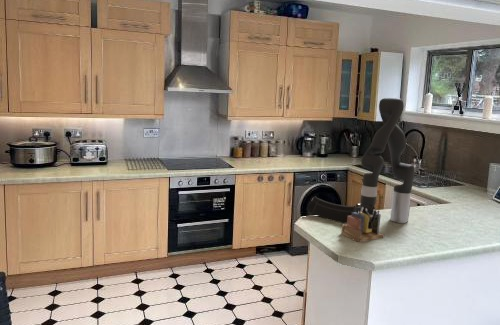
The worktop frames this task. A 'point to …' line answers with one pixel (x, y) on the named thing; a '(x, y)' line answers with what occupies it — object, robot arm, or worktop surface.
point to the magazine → (330, 210)
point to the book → (366, 223)
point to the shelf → (359, 234)
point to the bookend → (376, 225)
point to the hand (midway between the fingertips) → (365, 226)
